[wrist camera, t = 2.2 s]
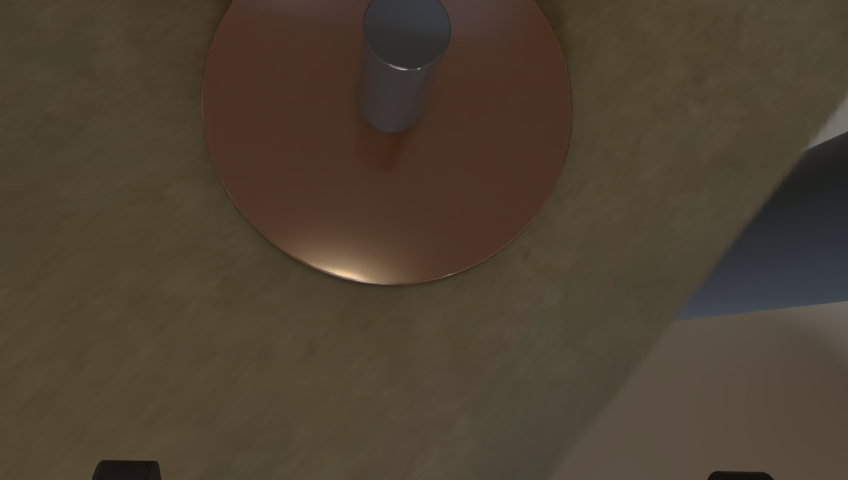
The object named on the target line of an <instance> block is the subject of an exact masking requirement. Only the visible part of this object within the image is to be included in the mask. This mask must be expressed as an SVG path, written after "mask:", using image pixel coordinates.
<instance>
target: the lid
mask: <svg viewBox="0 0 848 480" xmlns="http://www.w3.org/2000/svg"><path fill="white" fill-rule="evenodd" d="M572 114H573V103H572V91H571V82H570V78H569V73H568V69H567V64H566V60H565V58H564V55H563V52H562V49H561V46H560V44H559V41H558V39H557V37H556V35H555V33H554V31H553V29H552V27H551V25H550V23H549V21H548V19H547V17H546V16H545V15H544V13H543V12H542V10H541V9H540V7H539V6H538V4H537V3H536V1H535V0H232V2H231V3H230V5H229V6H228V8H227V10H226V11H225V13H224V15H223V16H222V18H221V20H220V22H219V23H218V26H217V28H216V31H215V33H214V35H213V38H212V40H211V42H210V45H209V49H208V53H207V57H206V60H205V64H204V68H203V77H202V85H201V117H202V123H203V129H204V136H205V141H206V144H207V147H208V151H209V154H210V157H211V160H212V163H213V166H214V168H215V170H216V172H217V174H218V176H219V179H220V181H221V183H222V185H223V187H224V188H225V190H226V191H227V193H228V195H229V196H230V198H231V199H232V201H233V202H234V204H235V205H236V207H237V209H238V210H239V211H240V212H241V213H242V215H243V216H244V217H245V218H246V219H247V220H248V222H249V223H250V224H251V225H252V226H253V228H254V229H256V230H257V231H258V232H259V233H260V234H261V235H262V236H263V237H264V238H266V239H267V240H268V241H269V242H270V243H271V244H272V245H274V246H275V247H276V248H278V249H279V250H281V251H282V252H284V253H285V254H287V255H288V256H289V257H291V258H292V259H294V260H296V261H298V262H300V263H302V264H304V265H306V266H308V267H310V268H312V269H314V270H316V271H319V272H322V273H324V274H327V275H330V276H333V277H336V278H338V279H343V280H347V281H352V282H357V283H361V284H370V285H382V286H398V285H414V284H420V283H425V282H431V281H436V280H440V279H443V278H446V277H449V276H452V275H455V274H458V273H461V272H463V271H465V270H467V269H469V268H471V267H473V266H476V265H478V264H480V263H482V262H483V261H485V260H486V259H488V258H489V257H491V256H493V255H494V254H496V253H497V252H499V251H500V250H502V249H503V248H505V247H506V246H507V245H508V244H509V243H510V242H511V241H513V240H514V239H515V238H516V237H517V236H518V235H520V234H521V233H522V232H523V231H524V230H525V228H526V227H527V226H528V225H529V224H530V223H531V222H532V220H533V219H534V218H535V217H536V216H537V215H538V213H539V212H540V210H541V209H542V207H543V206H544V204H545V203H546V201H547V200H548V198H549V197H550V195H551V193H552V191H553V189H554V187H555V185H556V183H557V181H558V179H559V176H560V174H561V171H562V168H563V165H564V162H565V159H566V156H567V153H568V148H569V142H570V137H571V131H572Z"/></svg>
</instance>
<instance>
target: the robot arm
mask: <svg viewBox="0 0 848 480" xmlns="http://www.w3.org/2000/svg"><path fill="white" fill-rule="evenodd" d="M92 480H161V476H160V469H159V464H158V462H157V461H124V460H102V461H100V462H99V464H98V465H97V467H96V469H95V472H94V475H93V478H92ZM708 480H773V478H772V477H771V476H770V475H769V474H767V473H765V472H732V471H729V472H728V471H716V472H713V473H712V474H711V475H710V476H709V478H708Z"/></svg>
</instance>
